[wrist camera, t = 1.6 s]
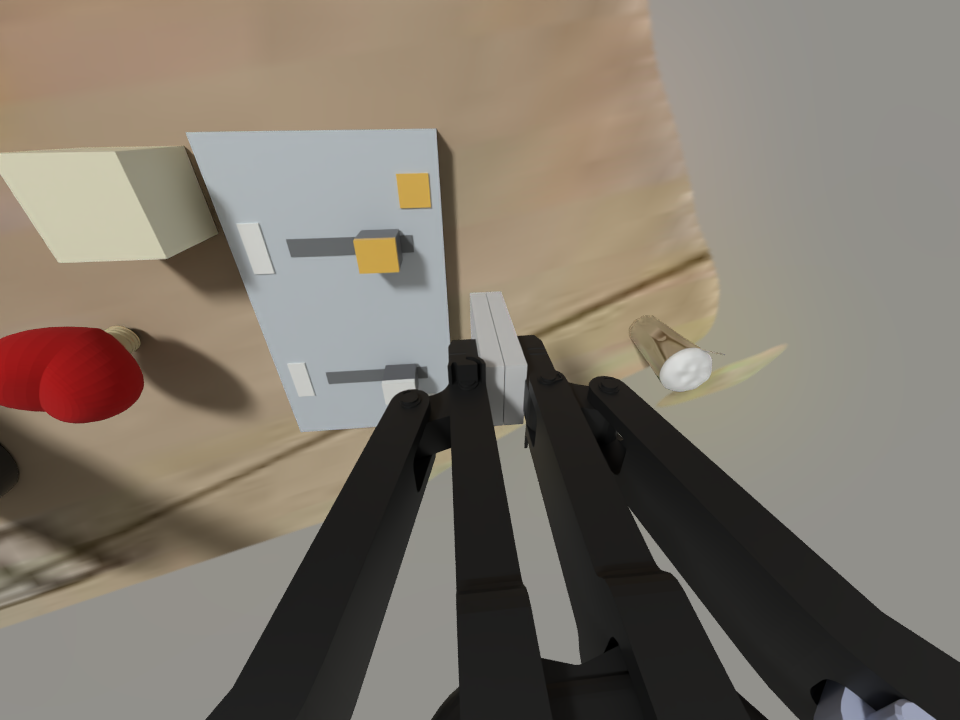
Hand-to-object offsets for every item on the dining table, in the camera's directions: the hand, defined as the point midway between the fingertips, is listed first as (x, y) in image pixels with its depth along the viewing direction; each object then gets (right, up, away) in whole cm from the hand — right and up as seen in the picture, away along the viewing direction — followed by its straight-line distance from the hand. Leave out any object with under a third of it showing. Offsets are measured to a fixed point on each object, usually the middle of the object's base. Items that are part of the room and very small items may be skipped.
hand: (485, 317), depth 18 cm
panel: (-12, +3, +16) cm, 20 cm away
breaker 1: (-8, +7, +11) cm, 16 cm away
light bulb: (-33, 0, +16) cm, 37 cm away
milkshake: (+17, +2, +21) cm, 27 cm away
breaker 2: (-8, -4, +18) cm, 20 cm away
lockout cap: (-26, +11, +10) cm, 29 cm away
